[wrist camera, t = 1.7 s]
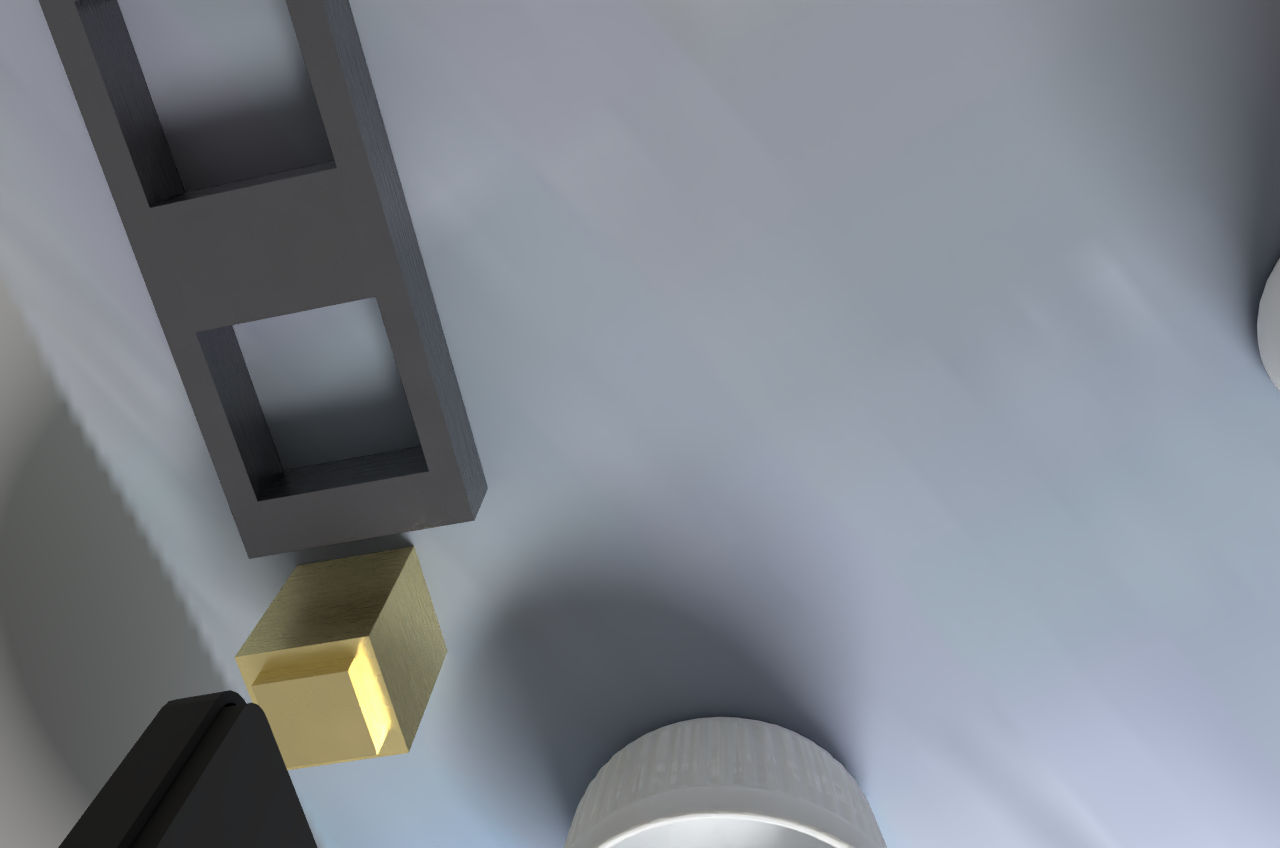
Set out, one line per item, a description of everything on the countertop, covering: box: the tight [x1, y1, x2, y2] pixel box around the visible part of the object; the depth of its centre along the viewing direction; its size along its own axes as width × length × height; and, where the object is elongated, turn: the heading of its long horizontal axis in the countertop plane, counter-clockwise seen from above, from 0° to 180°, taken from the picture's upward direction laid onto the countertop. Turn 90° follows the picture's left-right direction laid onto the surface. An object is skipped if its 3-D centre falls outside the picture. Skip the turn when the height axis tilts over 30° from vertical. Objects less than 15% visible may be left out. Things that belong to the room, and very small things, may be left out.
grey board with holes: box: [39, 0, 488, 559], centre depth 36 cm, size 20×8×2 cm, turn 12°
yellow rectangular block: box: [235, 546, 447, 770], centre depth 39 cm, size 4×4×7 cm
